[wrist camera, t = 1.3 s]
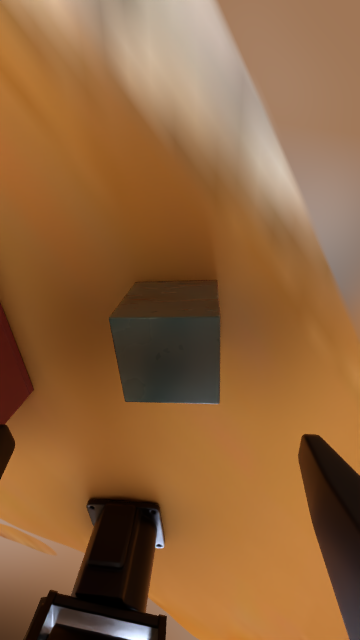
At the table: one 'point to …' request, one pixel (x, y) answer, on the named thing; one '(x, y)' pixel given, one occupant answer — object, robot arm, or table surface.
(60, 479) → the table surface
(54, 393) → the table surface
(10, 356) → the dark red open box
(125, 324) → the block
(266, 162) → the table surface
